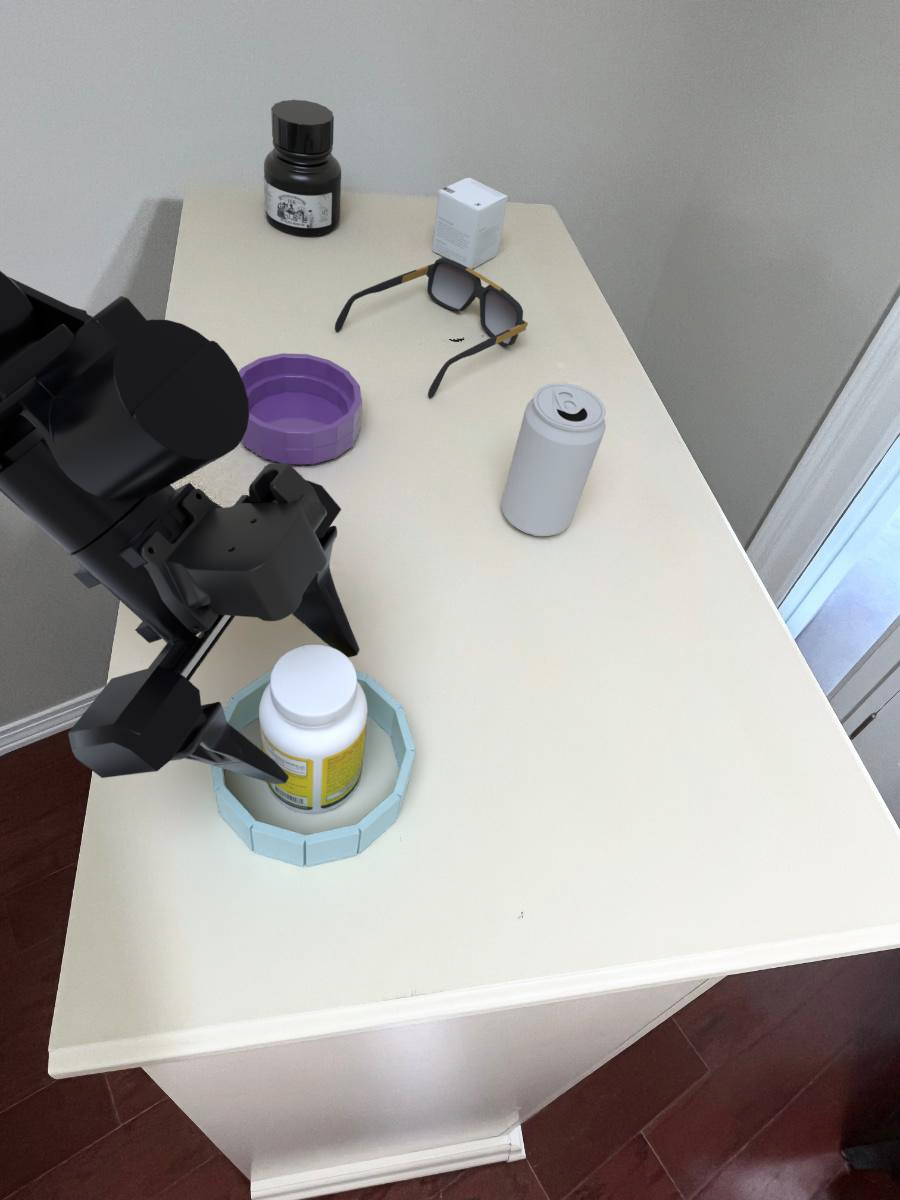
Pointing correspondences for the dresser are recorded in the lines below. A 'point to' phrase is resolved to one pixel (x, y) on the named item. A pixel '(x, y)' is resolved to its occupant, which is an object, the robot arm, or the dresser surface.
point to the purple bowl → (300, 408)
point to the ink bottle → (302, 170)
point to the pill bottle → (314, 727)
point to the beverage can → (553, 458)
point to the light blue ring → (332, 841)
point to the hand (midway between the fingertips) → (320, 713)
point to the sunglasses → (460, 304)
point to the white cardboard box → (469, 222)
